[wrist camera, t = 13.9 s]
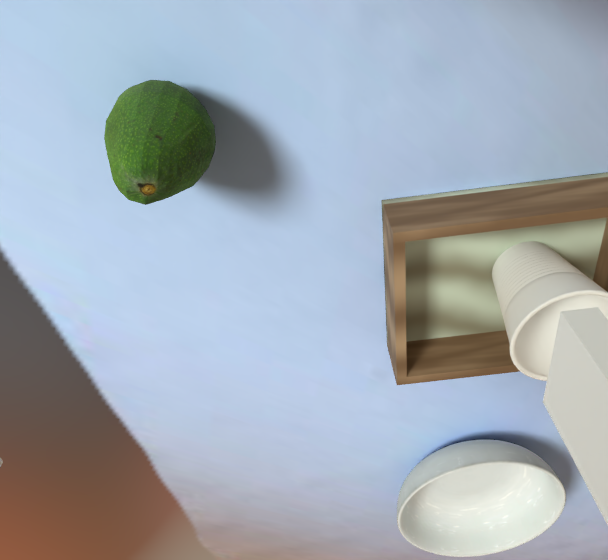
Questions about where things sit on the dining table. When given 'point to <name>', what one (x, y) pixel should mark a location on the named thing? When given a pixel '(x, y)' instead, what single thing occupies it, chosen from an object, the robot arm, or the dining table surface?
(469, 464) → the serving bowl
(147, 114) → the avocado
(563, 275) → the cup
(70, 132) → the dining table surface
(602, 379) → the robot arm
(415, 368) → the crate
